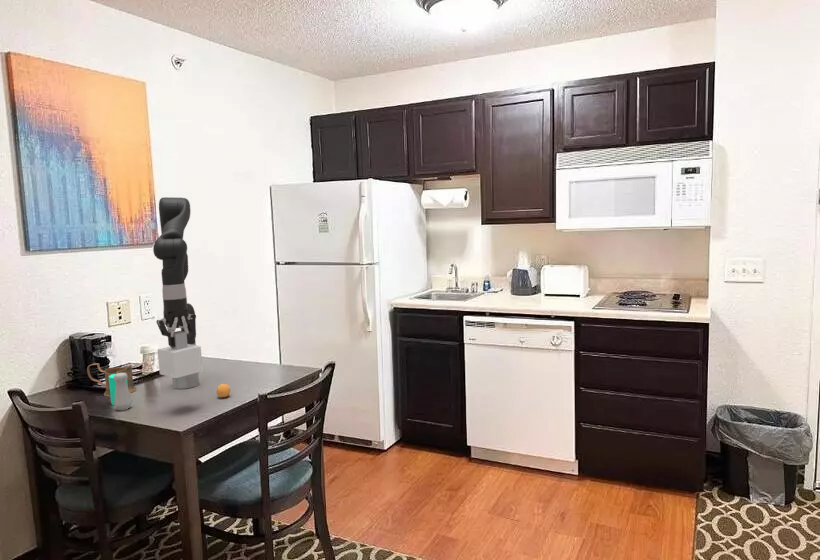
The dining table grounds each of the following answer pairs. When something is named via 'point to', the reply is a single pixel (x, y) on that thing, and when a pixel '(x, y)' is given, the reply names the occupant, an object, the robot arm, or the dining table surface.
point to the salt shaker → (122, 392)
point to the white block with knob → (180, 358)
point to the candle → (112, 387)
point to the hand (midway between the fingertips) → (179, 345)
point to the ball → (223, 390)
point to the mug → (114, 371)
